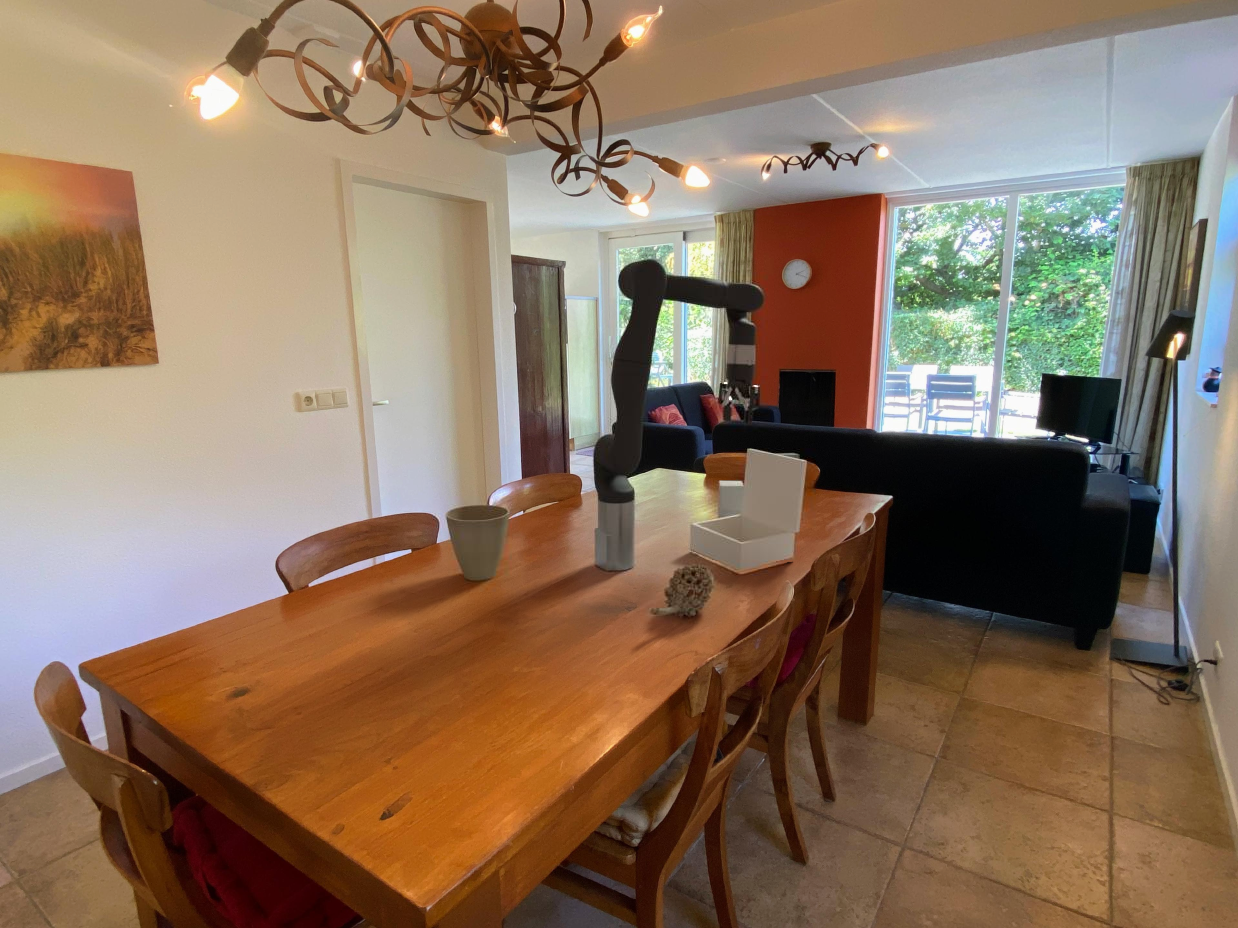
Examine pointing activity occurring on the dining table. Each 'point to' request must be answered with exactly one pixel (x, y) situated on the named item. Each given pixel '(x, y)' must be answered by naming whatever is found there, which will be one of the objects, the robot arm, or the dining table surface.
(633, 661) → the dining table surface
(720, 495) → the supplement box
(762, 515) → the mailer lid
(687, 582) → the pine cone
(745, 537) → the mailer box
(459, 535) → the plant pot
